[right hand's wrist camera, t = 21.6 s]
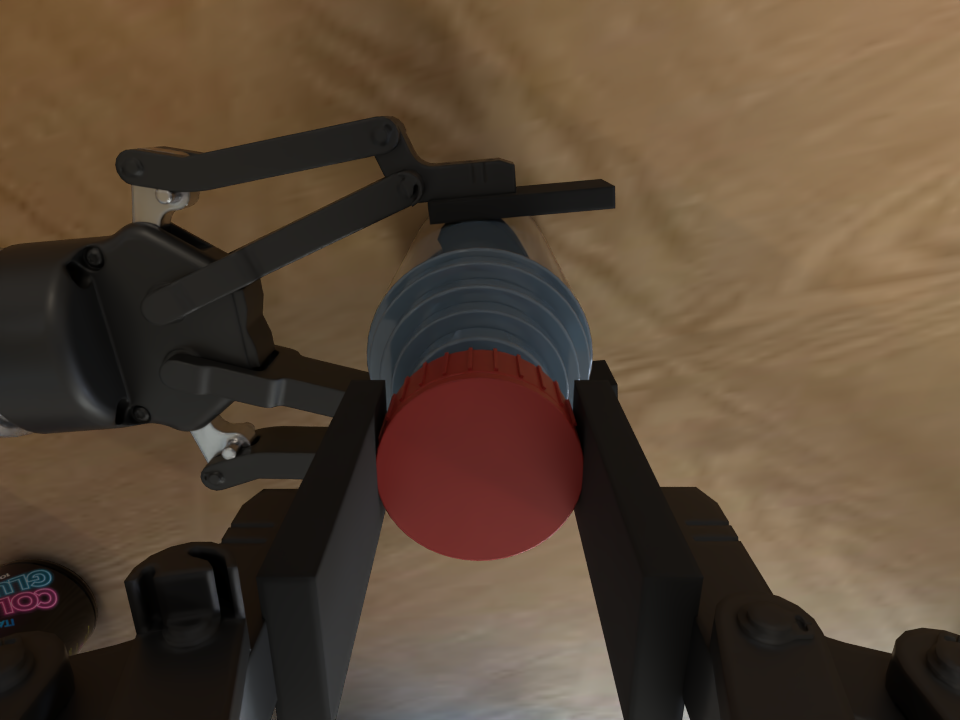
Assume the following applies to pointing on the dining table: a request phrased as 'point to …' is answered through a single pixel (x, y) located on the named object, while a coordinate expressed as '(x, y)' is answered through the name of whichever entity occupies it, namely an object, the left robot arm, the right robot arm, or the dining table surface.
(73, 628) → the supplement container
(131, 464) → the dining table surface
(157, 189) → the left robot arm
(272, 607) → the right robot arm
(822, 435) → the dining table surface
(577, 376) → the bottle
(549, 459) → the cap
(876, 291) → the dining table surface
